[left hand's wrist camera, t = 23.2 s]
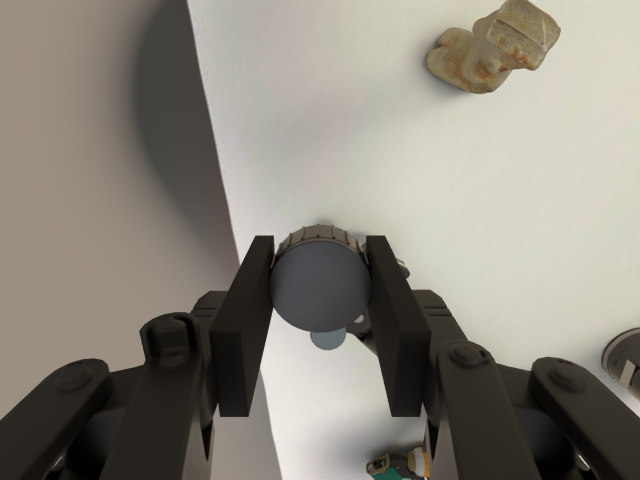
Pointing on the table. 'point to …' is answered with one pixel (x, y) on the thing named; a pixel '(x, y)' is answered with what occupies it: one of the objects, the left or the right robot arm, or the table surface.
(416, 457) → the spray gun
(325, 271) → the cap
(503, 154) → the table surface
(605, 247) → the table surface
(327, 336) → the bottle
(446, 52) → the sculpture
